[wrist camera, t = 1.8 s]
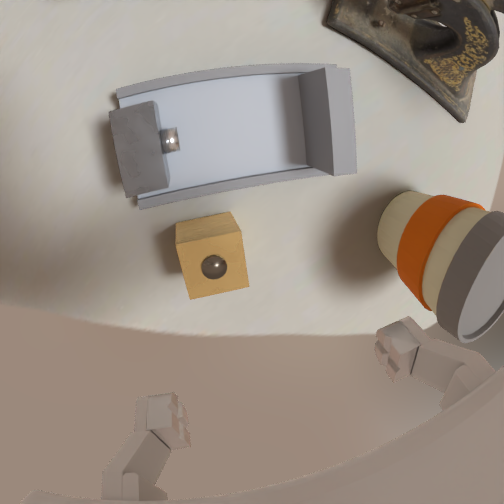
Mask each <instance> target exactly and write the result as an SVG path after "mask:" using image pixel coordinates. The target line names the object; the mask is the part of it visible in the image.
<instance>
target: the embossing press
mask: <svg viewBox="0 0 504 504" xmlns="http://www.w3.org/2000/svg"><path fill="white" fill-rule="evenodd" d="M494 10H496V11H499V12H502V13H504V0H333V2H332V8H331V11H330V14H329V17H328V20H327V24H328V25H330V26H331V27H333V28H334V29H336V30H338V31H340V32H342V33H343V34H345V35H347V36H349V37H351V38H353V39H354V40H356V41H358V42H360V43H361V44H363V45H365V46H366V47H368V48H369V49H370V50H372V51H373V52H375V53H376V54H378V55H379V56H381V57H382V58H383V59H385V60H386V61H388V62H389V63H390V64H392V65H393V66H395V67H396V68H397V69H399V70H400V71H401V72H403V73H404V74H405V75H406V76H408V77H409V78H410V79H411V80H413V81H414V82H415V83H417V84H418V85H419V86H420V87H422V88H423V89H424V90H425V91H427V92H428V93H429V94H430V95H431V96H432V97H433V98H434V99H435V100H436V101H438V102H439V103H440V104H441V105H442V106H443V107H444V108H445V109H446V110H447V111H449V112H450V113H451V114H452V115H453V116H454V117H455V118H456V119H457V120H458V121H459V122H460V123H464V122H466V119H467V116H468V112H469V109H470V102H471V97H472V92H473V86H474V81H475V77H476V72H477V69H479V68H480V67H482V66H484V65H486V64H487V63H489V62H490V61H491V60H492V59H493V58H494V57H495V56H496V54H497V51H498V48H499V35H500V31H499V25H498V20H497V17H496V14H495V11H494ZM438 22H440V23H442V24H443V25H445V26H447V27H444V26H441V25H440V24H439V23H438Z"/></svg>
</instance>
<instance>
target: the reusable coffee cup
mask: <svg viewBox="0 0 504 504" xmlns="http://www.w3.org/2000/svg"><path fill="white" fill-rule="evenodd" d="M377 241H378V246H379V248H380V250H381V252H382V253H383V255H384V256H385V257H386V258H387V259H388V260H389V261H390V262H391V263H392V264H393V266H394V267H395V268H396V269H397V270H398V274H399V276H400V279H401V280H402V281H403V282H404V284H405V285H406V286H407V287H408V288H409V289H410V291H411V292H412V293H413V294H414V295H415V297H416V298H417V299H418V300H419V301H420V303H421V304H422V305H423V306H424V308H426V309H428V310H429V311H433V312H434V313H435V315H436V316H437V320H438V323H439V325H440V326H441V327H442V328H443V329H445V330H447V331H448V332H449V333H450V334H452V335H453V336H454V337H456V338H457V339H458V340H460V341H461V342H463V343H469V342H472V341H474V340H476V339H478V338H479V337H481V336H482V335H483V334H484V333H486V332H487V331H488V330H489V329H490V328H491V327H492V326H493V325H494V323H495V322H496V321H497V320H498V318H499V317H500V316H501V315H502V313H503V312H504V213H502V212H499V211H494V212H489V211H485V209H484V208H483V207H482V206H481V205H479V204H476V203H473V202H469V201H466V200H462V199H458V198H454V197H450V196H446V195H437V196H431V195H427V194H423V193H419V192H414V191H407V192H403V193H401V194H399V195H398V196H396V197H395V198H394V199H393V200H392V201H391V202H390V203H389V204H388V205H387V207H386V208H385V210H384V212H383V214H382V216H381V218H380V221H379V225H378V231H377Z"/></svg>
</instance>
